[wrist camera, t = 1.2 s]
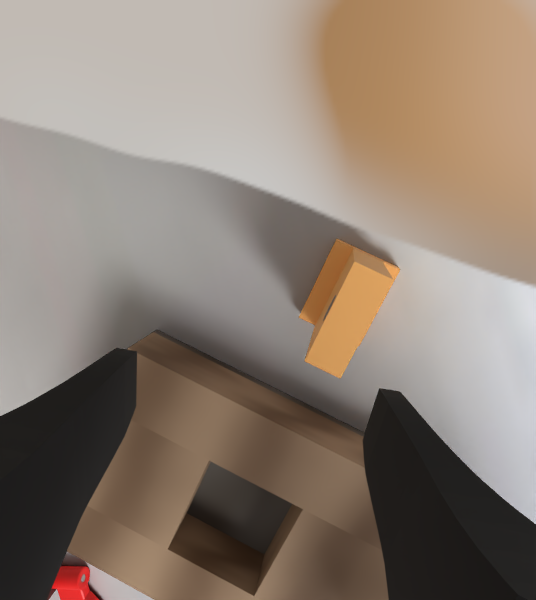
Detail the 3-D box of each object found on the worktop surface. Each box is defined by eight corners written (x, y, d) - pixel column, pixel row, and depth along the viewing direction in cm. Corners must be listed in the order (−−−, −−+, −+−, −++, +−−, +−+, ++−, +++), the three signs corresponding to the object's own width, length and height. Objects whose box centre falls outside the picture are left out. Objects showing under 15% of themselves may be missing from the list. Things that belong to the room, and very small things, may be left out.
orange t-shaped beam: (336, 238, 23) (331, 250, 16) (398, 266, 22) (416, 290, 16) (300, 312, 24) (283, 350, 18) (358, 340, 24) (361, 389, 17)
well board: (438, 469, 24) (452, 512, 21) (329, 636, 28) (326, 694, 25) (157, 329, 26) (127, 348, 22) (89, 505, 29) (55, 544, 26)
